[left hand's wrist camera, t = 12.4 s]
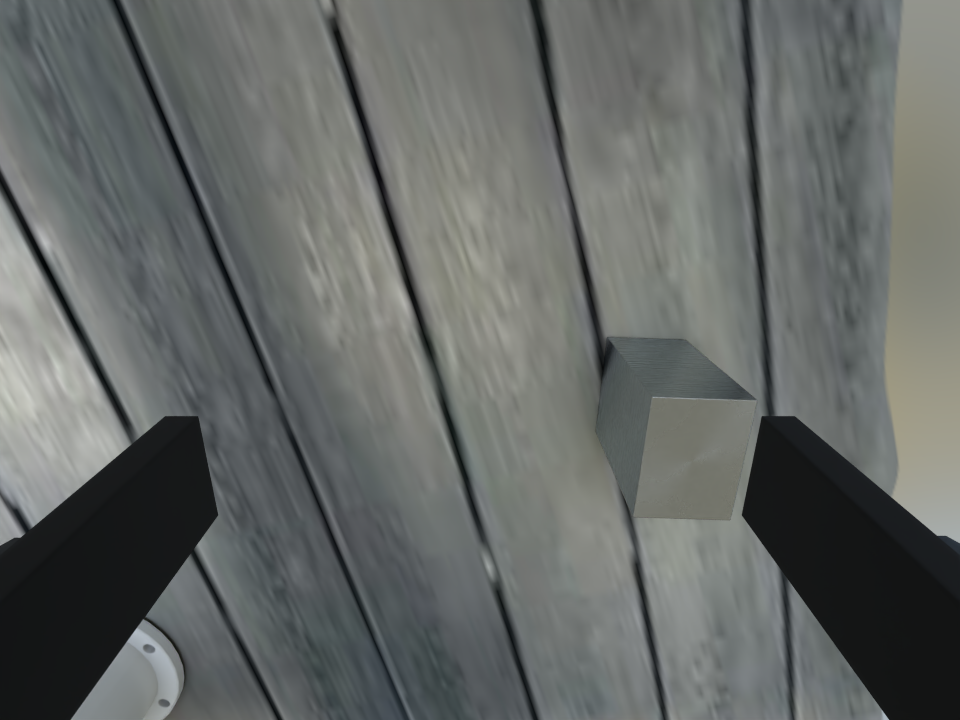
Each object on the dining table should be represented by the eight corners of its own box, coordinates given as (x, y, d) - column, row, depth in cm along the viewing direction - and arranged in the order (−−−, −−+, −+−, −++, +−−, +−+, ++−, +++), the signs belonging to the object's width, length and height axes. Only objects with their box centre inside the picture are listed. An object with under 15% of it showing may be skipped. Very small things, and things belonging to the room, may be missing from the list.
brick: (606, 336, 34) (651, 396, 25) (686, 339, 34) (758, 400, 25) (595, 432, 36) (632, 517, 27) (669, 434, 36) (730, 520, 27)
